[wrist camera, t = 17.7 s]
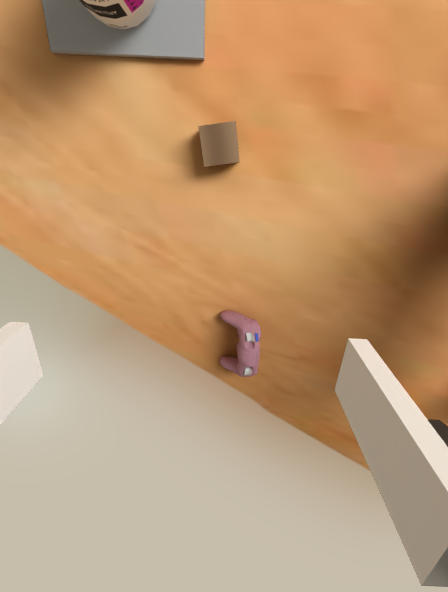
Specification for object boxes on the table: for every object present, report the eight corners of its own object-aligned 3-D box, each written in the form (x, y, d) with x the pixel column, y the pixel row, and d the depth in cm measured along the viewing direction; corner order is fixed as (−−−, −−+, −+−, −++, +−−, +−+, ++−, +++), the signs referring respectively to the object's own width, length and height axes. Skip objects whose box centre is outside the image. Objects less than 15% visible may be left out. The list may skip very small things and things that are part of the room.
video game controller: (241, 355, 49) (264, 382, 44) (217, 362, 47) (237, 391, 42) (244, 303, 45) (269, 325, 39) (217, 309, 43) (239, 332, 38)
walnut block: (235, 123, 34) (235, 120, 31) (238, 161, 35) (239, 162, 33) (201, 128, 34) (198, 126, 31) (206, 166, 36) (204, 166, 33)
